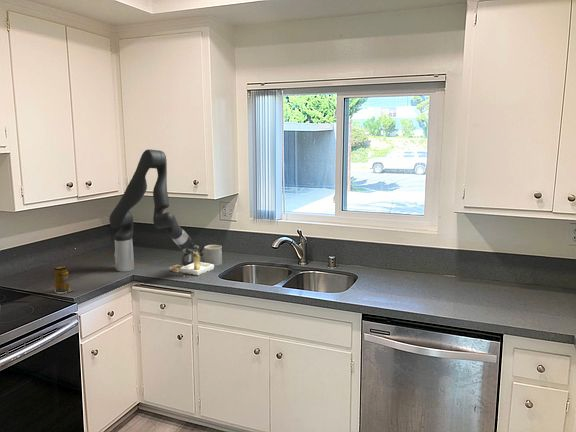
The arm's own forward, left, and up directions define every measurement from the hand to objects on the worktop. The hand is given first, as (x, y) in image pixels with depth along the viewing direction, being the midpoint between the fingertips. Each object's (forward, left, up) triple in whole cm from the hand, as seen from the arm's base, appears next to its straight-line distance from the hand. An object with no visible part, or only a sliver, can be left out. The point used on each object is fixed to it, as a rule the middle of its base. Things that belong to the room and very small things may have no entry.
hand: (196, 254), depth 252 cm
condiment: (-35, -57, -10) cm, 67 cm away
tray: (0, 0, -9) cm, 9 cm away
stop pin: (0, 0, -8) cm, 8 cm away
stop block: (-10, -5, -9) cm, 14 cm away
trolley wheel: (-10, +4, -9) cm, 14 cm away
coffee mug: (-2, +14, -9) cm, 17 cm away
